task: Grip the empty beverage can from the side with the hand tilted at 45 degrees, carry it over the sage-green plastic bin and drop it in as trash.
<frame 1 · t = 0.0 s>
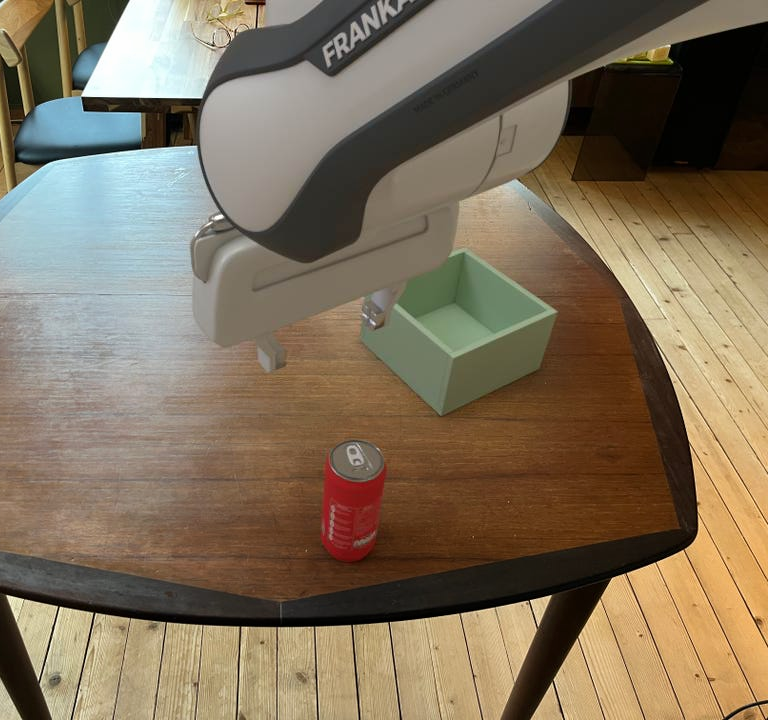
hand: (325, 344, 56), 23 cm above the table, tool pointing down, fingers open, 8 cm apart
beverage can: (347, 543, 70), on the table
bin: (447, 354, 91), on the table
sunglasses: (343, 197, 120), on the table
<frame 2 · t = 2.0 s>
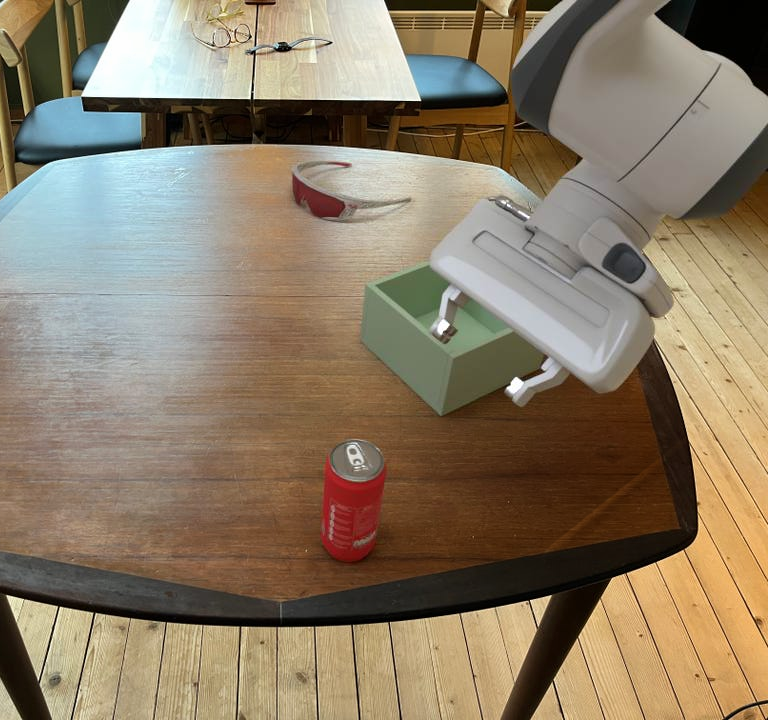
hand: (472, 368, 64), 17 cm above the table, tool tilted 45°, fingers open, 8 cm apart
nothing on the table moved.
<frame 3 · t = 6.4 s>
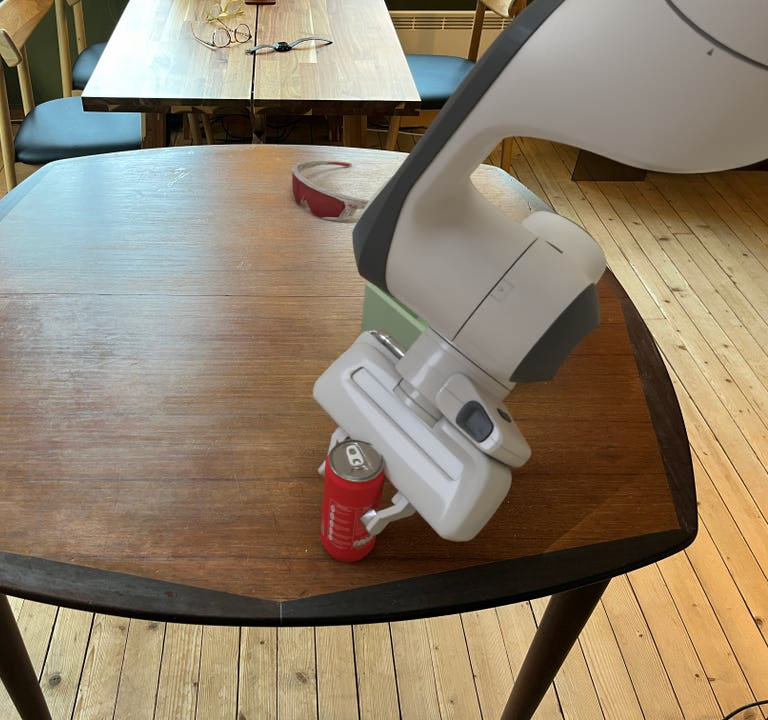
hand: (346, 502, 65), 7 cm above the table, tool tilted 45°, fingers closed on beverage can, 5 cm apart
beverage can: (346, 543, 70), on the table, touching gripper
everything else where it was.
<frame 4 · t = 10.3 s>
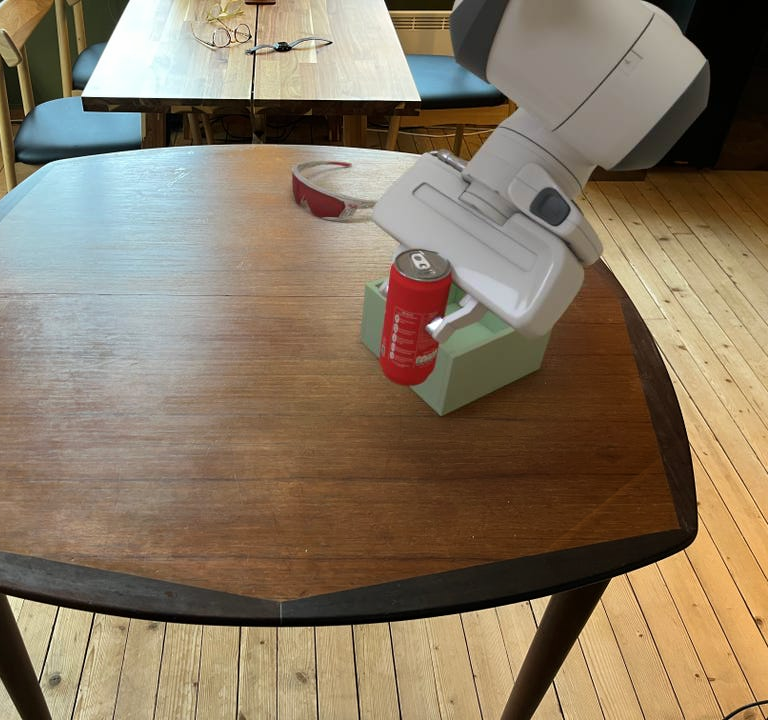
hand: (409, 317, 64), 20 cm above the table, tool tilted 45°, fingers closed on beverage can, 5 cm apart
beverage can: (405, 371, 69), point 13 cm above the table, touching gripper
everything else where it was.
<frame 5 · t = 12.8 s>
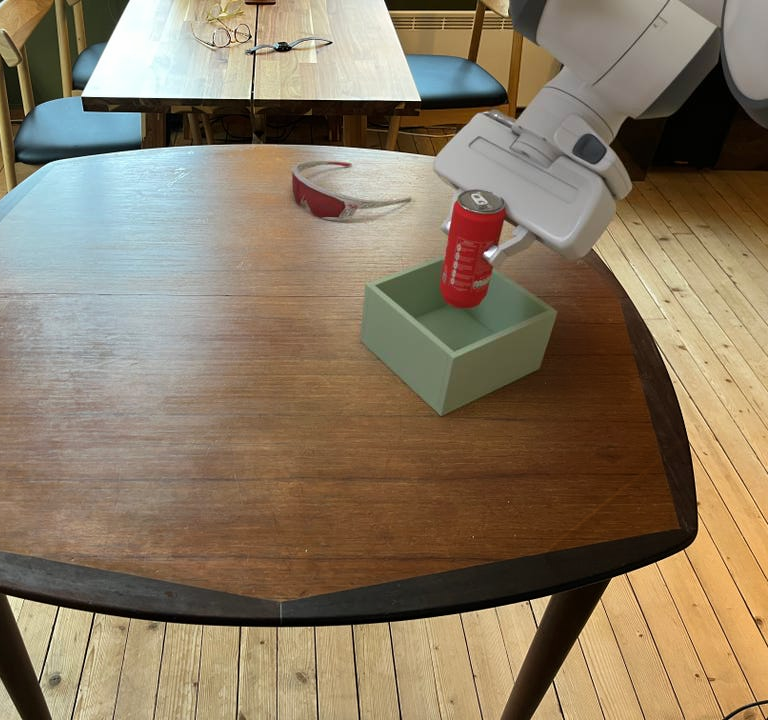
hand: (467, 248, 77), 17 cm above the table, tool tilted 45°, fingers closed on beverage can, 5 cm apart
beverage can: (461, 298, 82), point 11 cm above the table, touching gripper
everything else where it was.
when the fingers open (12 cm above the table, at t = 14.8 s): beverage can drops 5 cm, resting on bin.
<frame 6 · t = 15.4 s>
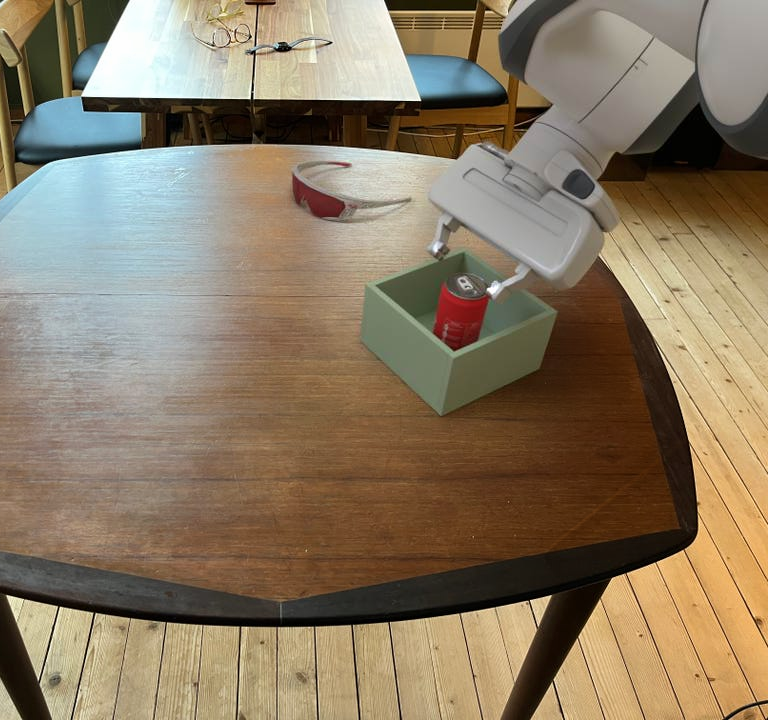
hand: (461, 277, 79), 14 cm above the table, tool tilted 45°, fingers open, 8 cm apart
beverage can: (447, 367, 88), point 1 cm above the table, touching bin
everything else where it was.
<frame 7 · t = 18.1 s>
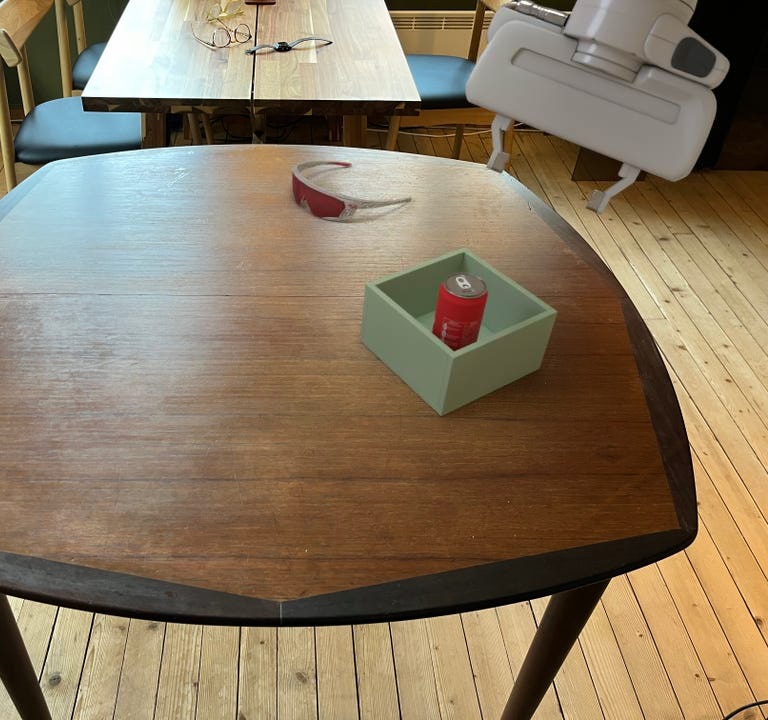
hand: (542, 190, 66), 27 cm above the table, tool tilted 25°, fingers open, 8 cm apart
nothing on the table moved.
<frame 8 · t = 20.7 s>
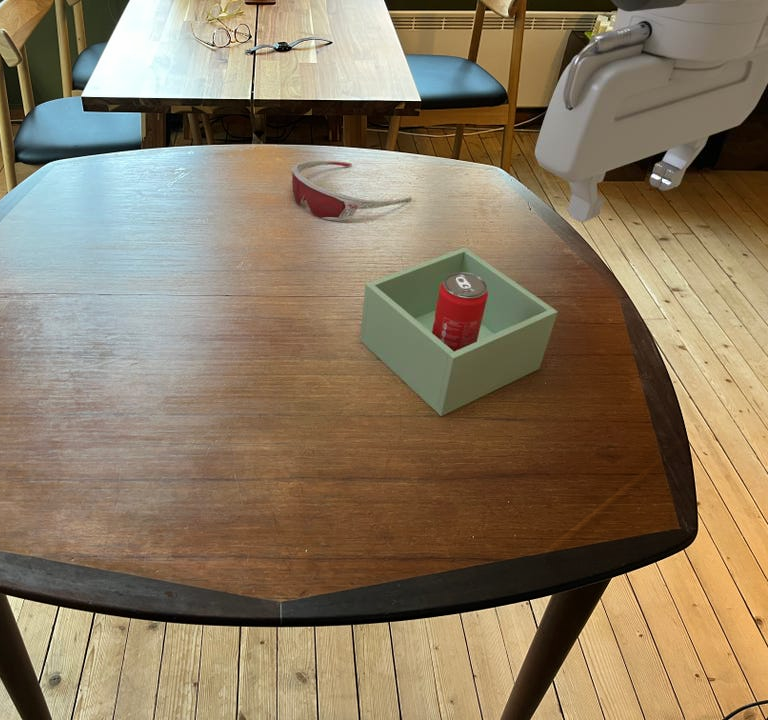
hand: (623, 201, 57), 31 cm above the table, tool pointing down, fingers open, 8 cm apart
nothing on the table moved.
at the end: beverage can inside the target area in the bin (3.2 cm from its centre), point 0.6 cm above the bin's base; the gripper is holding nothing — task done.
